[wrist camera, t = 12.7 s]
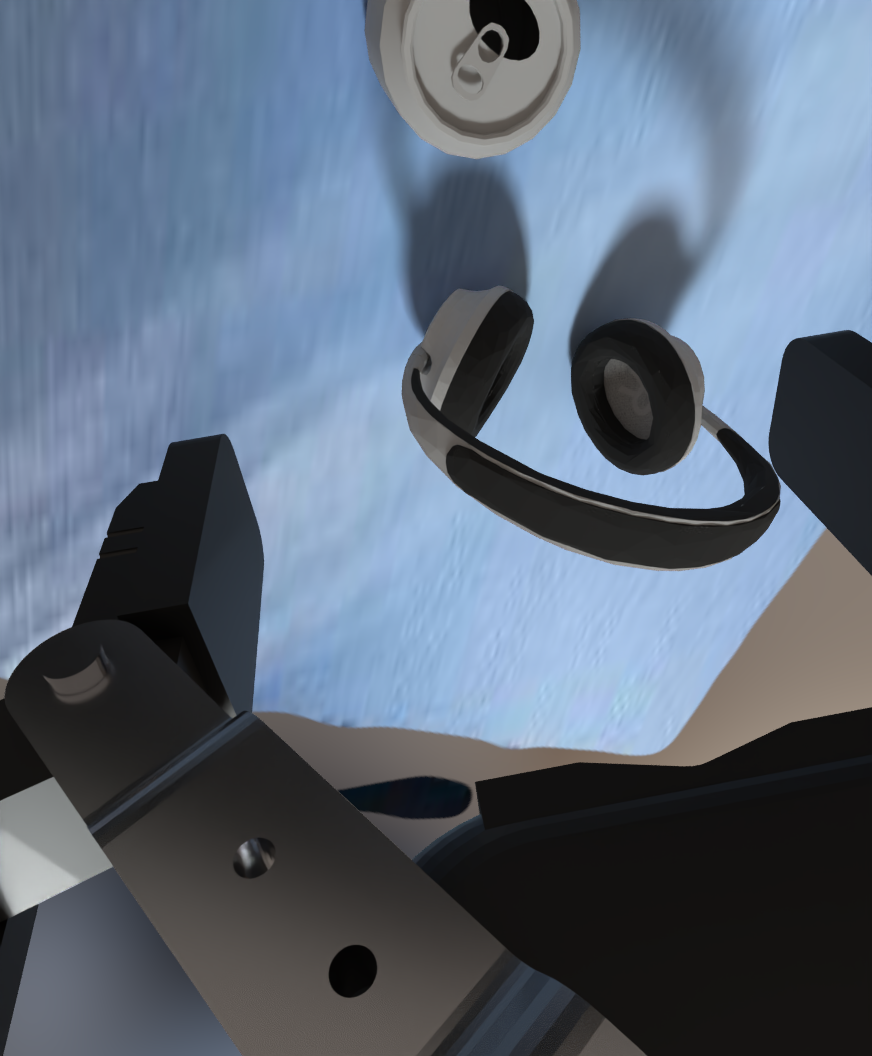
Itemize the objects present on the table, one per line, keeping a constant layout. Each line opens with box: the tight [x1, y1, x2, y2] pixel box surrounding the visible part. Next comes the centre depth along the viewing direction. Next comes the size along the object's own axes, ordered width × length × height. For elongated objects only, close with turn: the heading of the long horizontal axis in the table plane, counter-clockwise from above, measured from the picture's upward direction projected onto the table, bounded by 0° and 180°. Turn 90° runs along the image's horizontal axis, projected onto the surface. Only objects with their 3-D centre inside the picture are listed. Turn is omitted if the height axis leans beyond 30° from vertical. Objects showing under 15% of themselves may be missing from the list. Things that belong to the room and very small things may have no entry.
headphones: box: [402, 285, 781, 571], centre depth 38 cm, size 19×8×20 cm, turn 75°
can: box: [365, 0, 580, 159], centre depth 31 cm, size 8×8×12 cm
